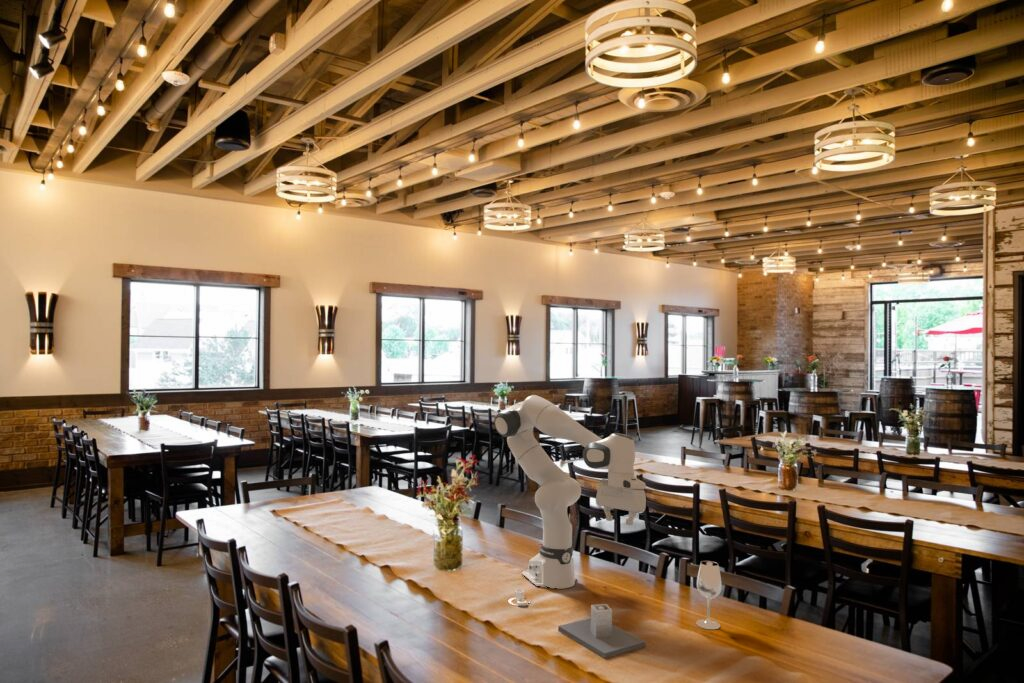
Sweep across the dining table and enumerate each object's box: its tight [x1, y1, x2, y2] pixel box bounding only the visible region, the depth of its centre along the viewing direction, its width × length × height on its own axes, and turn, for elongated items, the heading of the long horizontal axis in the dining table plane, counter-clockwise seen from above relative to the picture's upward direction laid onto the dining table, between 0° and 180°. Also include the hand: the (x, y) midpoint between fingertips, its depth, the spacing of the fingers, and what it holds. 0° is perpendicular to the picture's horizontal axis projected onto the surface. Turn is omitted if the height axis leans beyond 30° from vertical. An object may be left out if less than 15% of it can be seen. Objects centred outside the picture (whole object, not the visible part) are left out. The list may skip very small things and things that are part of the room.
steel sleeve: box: [590, 603, 613, 638], centre depth 205 cm, size 5×5×8 cm
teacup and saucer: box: [507, 589, 531, 607], centre depth 234 cm, size 9×8×4 cm
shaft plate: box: [557, 607, 646, 659], centre depth 205 cm, size 22×16×10 cm
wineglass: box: [695, 560, 722, 630], centre depth 219 cm, size 8×8×20 cm
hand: (619, 522), depth 227 cm, fingers open, 8 cm apart
